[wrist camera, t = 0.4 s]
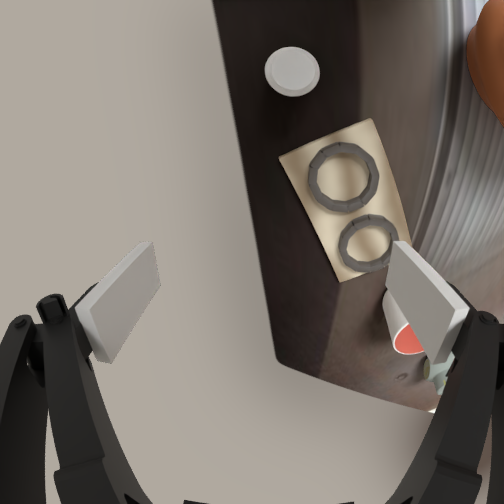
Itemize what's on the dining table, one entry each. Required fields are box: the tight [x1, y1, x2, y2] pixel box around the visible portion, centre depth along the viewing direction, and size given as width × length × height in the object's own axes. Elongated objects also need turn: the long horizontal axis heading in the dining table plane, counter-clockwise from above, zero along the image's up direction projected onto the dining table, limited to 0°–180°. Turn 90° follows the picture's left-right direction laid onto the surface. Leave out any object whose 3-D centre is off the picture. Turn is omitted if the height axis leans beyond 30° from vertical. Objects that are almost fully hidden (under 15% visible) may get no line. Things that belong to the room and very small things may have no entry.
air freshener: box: [424, 351, 455, 395], centre depth 51 cm, size 11×8×10 cm
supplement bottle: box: [265, 47, 320, 96], centre depth 24 cm, size 5×5×10 cm
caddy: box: [279, 118, 412, 282], centre depth 36 cm, size 13×22×2 cm, turn 30°
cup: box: [382, 290, 424, 354], centre depth 41 cm, size 10×10×10 cm
